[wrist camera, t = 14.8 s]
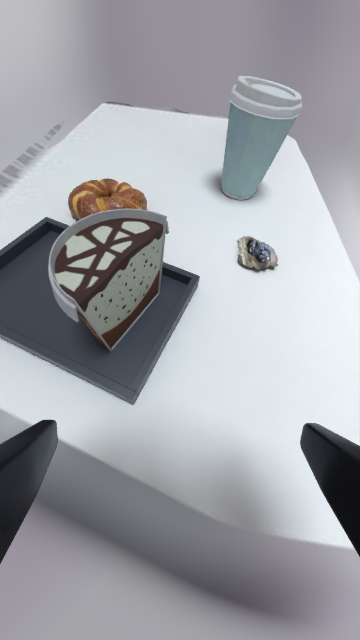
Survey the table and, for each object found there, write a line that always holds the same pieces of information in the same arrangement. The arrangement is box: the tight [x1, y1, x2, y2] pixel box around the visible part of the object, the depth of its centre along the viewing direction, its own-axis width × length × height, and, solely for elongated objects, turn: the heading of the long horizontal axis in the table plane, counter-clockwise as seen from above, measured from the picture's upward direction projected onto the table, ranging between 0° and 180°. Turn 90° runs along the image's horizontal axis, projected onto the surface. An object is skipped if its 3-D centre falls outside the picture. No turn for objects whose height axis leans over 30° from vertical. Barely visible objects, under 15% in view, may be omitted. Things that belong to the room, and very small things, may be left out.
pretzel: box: [68, 179, 147, 219], centre depth 35 cm, size 12×11×4 cm
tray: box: [0, 217, 200, 404], centre depth 26 cm, size 17×24×2 cm
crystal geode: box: [237, 236, 278, 270], centre depth 33 cm, size 7×8×2 cm
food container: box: [48, 209, 169, 352], centre depth 22 cm, size 12×6×10 cm, turn 149°
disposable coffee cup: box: [221, 76, 302, 200], centre depth 37 cm, size 11×11×15 cm
